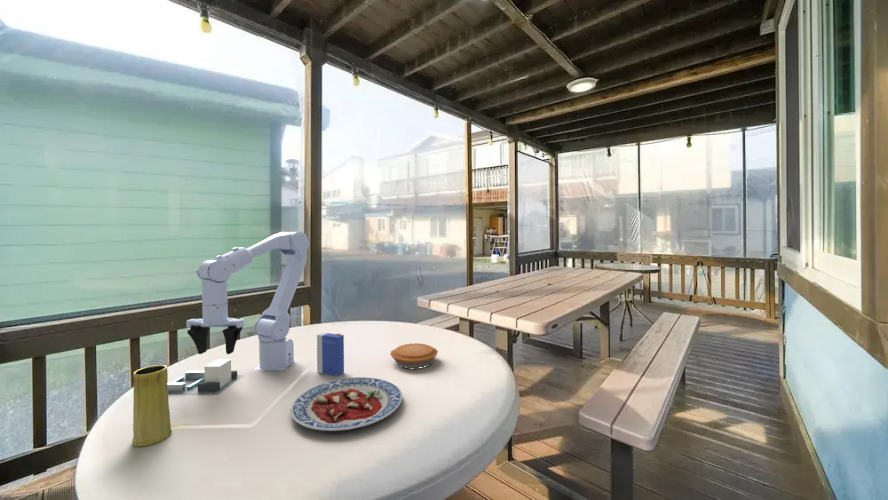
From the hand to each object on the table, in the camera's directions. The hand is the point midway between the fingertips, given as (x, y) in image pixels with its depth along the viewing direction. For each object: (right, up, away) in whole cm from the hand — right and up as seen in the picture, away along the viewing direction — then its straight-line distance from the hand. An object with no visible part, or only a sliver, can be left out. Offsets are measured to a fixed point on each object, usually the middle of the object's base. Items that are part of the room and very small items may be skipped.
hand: (216, 353), depth 92 cm
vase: (+3, -11, -23) cm, 26 cm away
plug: (0, -9, +1) cm, 9 cm away
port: (-9, -9, 0) cm, 12 cm away
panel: (-4, -9, 0) cm, 10 cm away
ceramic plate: (+40, -10, -11) cm, 42 cm away
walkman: (+28, -9, +10) cm, 31 cm away
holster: (0, -9, +1) cm, 9 cm away
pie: (+53, -9, +19) cm, 57 cm away
